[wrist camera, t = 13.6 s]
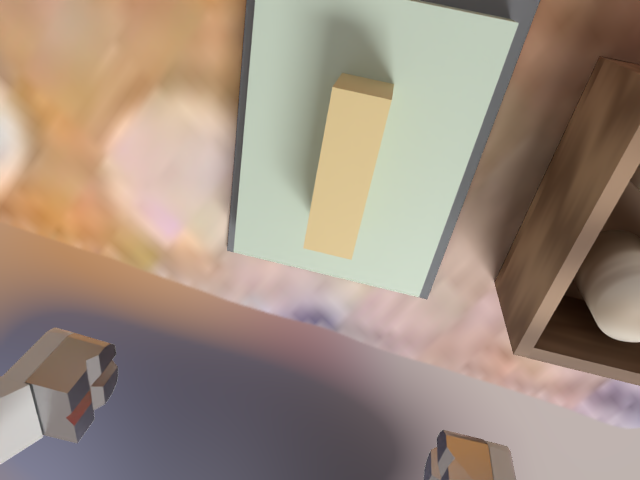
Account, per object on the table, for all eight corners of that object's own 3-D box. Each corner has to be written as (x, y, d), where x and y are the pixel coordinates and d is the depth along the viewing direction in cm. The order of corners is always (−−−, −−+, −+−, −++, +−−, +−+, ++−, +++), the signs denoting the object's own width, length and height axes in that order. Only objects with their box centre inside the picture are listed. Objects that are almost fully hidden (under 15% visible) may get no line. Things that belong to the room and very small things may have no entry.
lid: (269, -31, 24) (234, -32, 20) (510, 18, 24) (536, 31, 19) (243, 236, 33) (214, 281, 28) (418, 278, 32) (419, 332, 28)
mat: (254, -71, 24) (252, -72, 24) (543, -13, 23) (545, -13, 23) (228, 248, 34) (227, 250, 34) (427, 296, 33) (427, 299, 33)
